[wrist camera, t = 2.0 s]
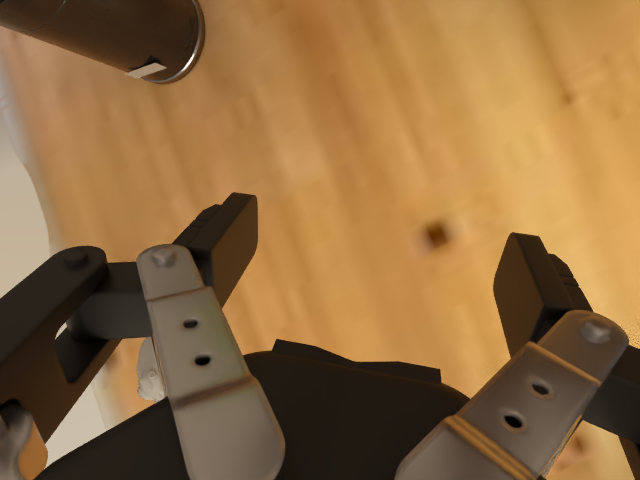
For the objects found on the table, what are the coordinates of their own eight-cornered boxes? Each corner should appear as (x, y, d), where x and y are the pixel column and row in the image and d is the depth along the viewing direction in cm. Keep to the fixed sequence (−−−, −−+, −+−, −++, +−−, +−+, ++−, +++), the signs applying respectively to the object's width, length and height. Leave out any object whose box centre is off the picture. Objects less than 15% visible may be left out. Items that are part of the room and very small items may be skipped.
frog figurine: (182, 390, 46) (134, 422, 39) (158, 329, 46) (106, 351, 39) (226, 375, 44) (183, 406, 37) (201, 311, 44) (154, 332, 37)
